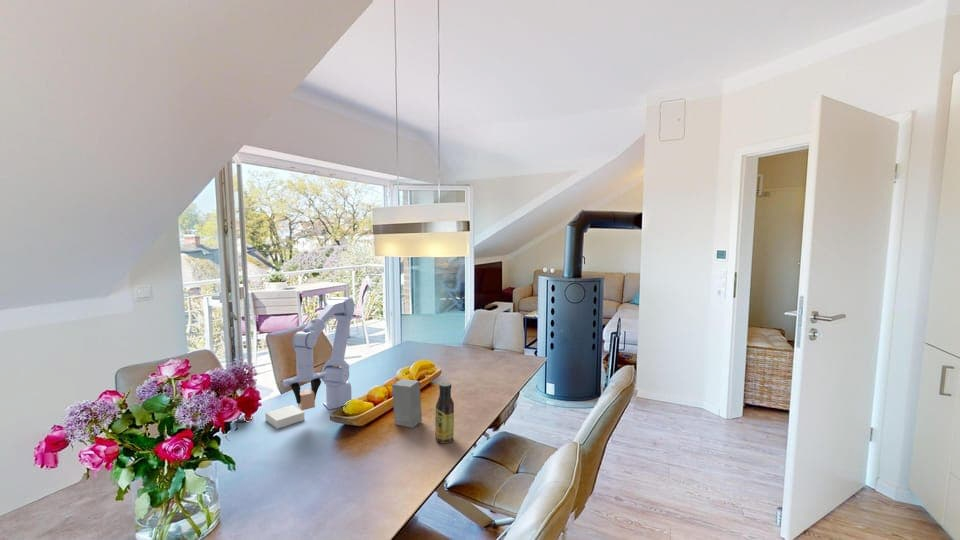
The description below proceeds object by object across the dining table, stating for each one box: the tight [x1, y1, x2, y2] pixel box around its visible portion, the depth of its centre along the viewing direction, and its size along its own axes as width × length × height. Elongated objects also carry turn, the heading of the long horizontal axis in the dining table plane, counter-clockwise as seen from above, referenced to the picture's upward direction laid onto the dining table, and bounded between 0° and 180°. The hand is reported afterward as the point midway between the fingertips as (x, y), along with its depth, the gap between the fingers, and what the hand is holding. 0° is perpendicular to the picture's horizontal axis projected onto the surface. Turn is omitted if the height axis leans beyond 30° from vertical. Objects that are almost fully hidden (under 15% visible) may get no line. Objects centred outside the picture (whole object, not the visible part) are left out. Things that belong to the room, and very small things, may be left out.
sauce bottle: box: [434, 381, 455, 444], centre depth 139 cm, size 6×6×20 cm
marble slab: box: [265, 404, 305, 430], centre depth 154 cm, size 10×10×3 cm
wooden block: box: [297, 388, 316, 411], centre depth 150 cm, size 5×5×6 cm
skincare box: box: [391, 378, 423, 429], centre depth 152 cm, size 8×7×16 cm
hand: (305, 401), depth 150 cm, fingers closed on wooden block, 5 cm apart
